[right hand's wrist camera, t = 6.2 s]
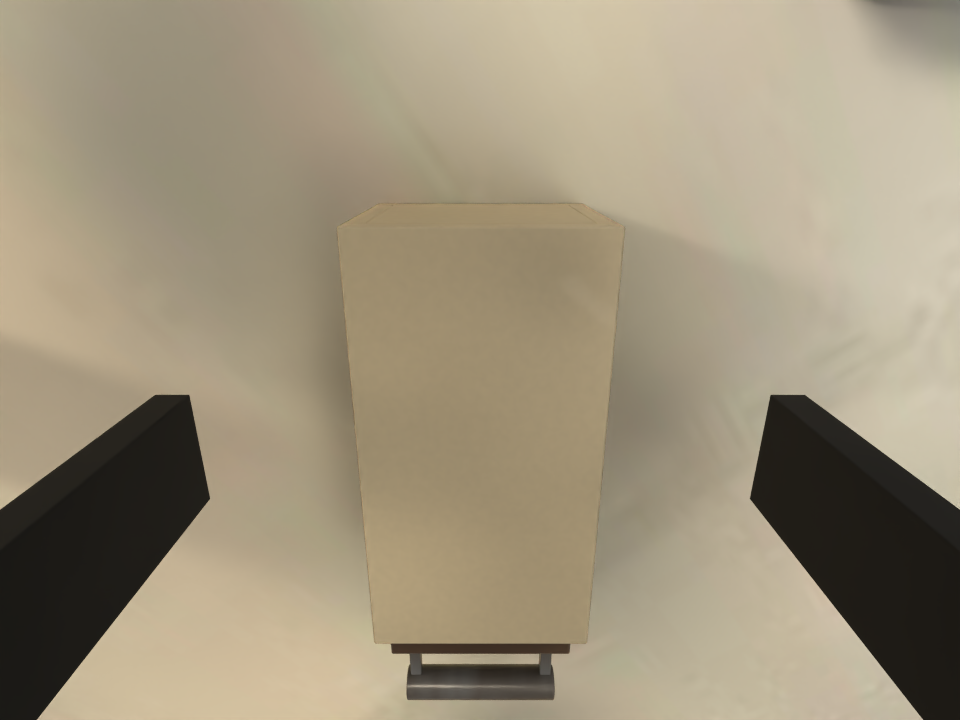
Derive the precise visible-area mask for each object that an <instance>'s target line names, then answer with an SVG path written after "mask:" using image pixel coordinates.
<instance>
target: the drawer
mask: <svg viewBox="0 0 960 720" xmlns="http://www.w3.org/2000/svg"><path fill="white" fill-rule="evenodd" d="M391 649H392V653H393V654H410V665H409V668H408V674H407V699H408V700H554V694H555V686H554V673H553V667H552V665H551V655H552V654H568V653H569V652H570V644H391ZM422 654H539V664H422Z"/></svg>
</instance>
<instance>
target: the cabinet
mask: <svg viewBox="0 0 960 720" xmlns="http://www.w3.org/2000/svg"><path fill="white" fill-rule="evenodd" d="M624 236H625V227H624V226H622V225H620V224H618V223H617V222H615V221H613V220H611V219H609V218H607V217H606V216H604V215H602V214H600V213H598V212H596V211H595V210H593V209H591V208H589V207H587V206H586V205H584V204H377V205H376V206H374V207H372V208H370V209H369V210H367V211H365V212H363V213H361V214H360V215H358V216H356V217H354V218H352V219H350V220H349V221H347V222H345V223H343V224H342V225H340V226H338V227H337V237H338V248H339V259H340V270H341V281H342V292H343V303H344V314H345V325H346V336H347V347H348V358H349V369H350V380H351V391H352V402H353V413H354V424H355V435H356V446H357V457H358V468H359V479H360V490H361V501H362V512H363V523H364V534H365V545H366V556H367V567H368V578H369V589H370V600H371V611H372V622H373V633H374V642H375V643H376V644H586V643H587V637H588V626H589V615H590V605H591V594H592V583H593V572H594V561H595V550H596V540H597V529H598V518H599V507H600V496H601V485H602V474H603V464H604V453H605V442H606V431H607V420H608V409H609V399H610V388H611V377H612V366H613V355H614V344H615V334H616V323H617V312H618V301H619V290H620V279H621V268H622V258H623V247H624Z"/></svg>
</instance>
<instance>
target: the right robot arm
mask: <svg viewBox="0 0 960 720" xmlns="http://www.w3.org/2000/svg"><path fill="white" fill-rule="evenodd" d="M209 499H210V496H209V491H208V486H207V481H206V476H205V471H204V466H203V461H202V456H201V451H200V446H199V441H198V436H197V431H196V426H195V421H194V416H193V411H192V406H191V401H190V396H189V395H155V396H153V397H152V398H151V399H149V400H148V401H146V402H145V403H144V404H142V405H141V406H140V407H138V408H137V409H136V410H134V411H133V412H132V413H130V414H129V415H128V416H126V417H125V418H124V419H122V420H121V421H119V422H118V423H117V424H115V425H114V426H113V427H111V428H110V429H109V430H107V431H106V432H105V433H103V434H102V435H101V436H99V437H98V438H97V439H95V440H94V441H92V442H91V443H90V444H88V445H87V446H86V447H84V448H83V449H82V450H80V451H79V452H78V453H76V454H75V455H74V456H72V457H71V458H69V459H68V460H67V461H65V462H64V463H63V464H61V465H60V466H59V467H57V468H56V469H55V470H53V471H52V472H51V473H49V474H48V475H47V476H45V477H44V478H42V479H41V480H40V481H38V482H37V483H36V484H34V485H33V486H32V487H30V488H29V489H28V490H26V491H25V492H24V493H22V494H21V495H20V496H18V497H17V498H15V499H14V500H13V501H11V502H10V503H9V504H7V505H6V506H5V507H3V508H2V509H1V510H0V720H37V719H38V717H39V716H40V715H41V714H42V712H43V711H44V710H45V709H46V707H47V706H48V705H49V703H50V702H51V701H52V700H53V698H54V697H55V696H56V695H57V693H58V692H59V691H60V689H61V688H62V687H63V686H64V684H65V683H66V682H67V680H68V679H69V678H70V677H71V675H72V674H73V673H74V672H75V670H76V669H77V668H78V666H79V665H80V664H81V663H82V661H83V660H84V659H85V658H86V656H87V655H88V654H89V652H90V651H91V650H92V649H93V647H94V646H95V645H96V644H97V642H98V641H99V640H100V638H101V637H102V636H103V635H104V633H105V632H106V631H107V629H108V628H109V627H110V626H111V624H112V623H113V622H114V621H115V619H116V618H117V617H118V615H119V614H120V613H121V612H122V610H123V609H124V608H125V607H126V605H127V604H128V603H129V601H130V600H131V599H132V598H133V596H134V595H135V594H136V593H137V591H138V590H139V589H140V587H141V586H142V585H143V584H144V582H145V581H146V580H147V578H148V577H149V576H150V575H151V573H152V572H153V571H154V570H155V568H156V567H157V566H158V564H159V563H160V562H161V561H162V559H163V558H164V557H165V556H166V554H167V553H168V552H169V550H170V549H171V548H172V547H173V545H174V544H175V543H176V542H177V540H178V539H179V538H180V536H181V535H182V534H183V533H184V531H185V530H186V529H187V528H188V526H189V525H190V524H191V522H192V521H193V520H194V519H195V517H196V516H197V515H198V513H199V512H200V511H201V510H202V508H203V507H204V506H205V505H206V503H207V502H208V501H209ZM750 499H751V501H752V502H753V503H754V505H755V506H756V507H757V508H758V510H759V511H760V512H761V513H762V515H763V516H764V517H765V519H766V520H767V521H768V522H769V524H770V525H771V526H772V528H773V529H774V530H775V531H776V533H777V534H778V535H779V536H780V538H781V539H782V540H783V542H784V543H785V544H786V545H787V547H788V548H789V549H790V550H791V552H792V553H793V554H794V556H795V557H796V558H797V559H798V561H799V562H800V563H801V564H802V566H803V567H804V568H805V570H806V571H807V572H808V573H809V575H810V576H811V577H812V578H813V580H814V581H815V582H816V584H817V585H818V586H819V587H820V589H821V590H822V591H823V593H824V594H825V595H826V596H827V598H828V599H829V600H830V601H831V603H832V604H833V605H834V607H835V608H836V609H837V610H838V612H839V613H840V614H841V615H842V617H843V618H844V619H845V621H846V622H847V623H848V624H849V626H850V627H851V628H852V629H853V631H854V632H855V633H856V635H857V636H858V637H859V638H860V640H861V641H862V642H863V644H864V645H865V646H866V647H867V649H868V650H869V651H870V652H871V654H872V655H873V656H874V658H875V659H876V660H877V661H878V663H879V664H880V665H881V666H882V668H883V669H884V670H885V672H886V673H887V674H888V675H889V677H890V678H891V679H892V680H893V682H894V683H895V684H896V686H897V687H898V688H899V689H900V691H901V692H902V693H903V695H904V696H905V697H906V698H907V700H908V701H909V702H910V703H911V705H912V706H913V707H914V709H915V710H916V711H917V712H918V714H919V715H920V716H921V717H922V719H923V720H960V510H959V509H958V508H957V507H955V506H954V505H953V504H951V503H950V502H949V501H947V500H946V499H945V498H943V497H942V496H940V495H939V494H938V493H936V492H935V491H934V490H932V489H931V488H930V487H928V486H927V485H926V484H924V483H923V482H922V481H920V480H919V479H918V478H916V477H915V476H913V475H912V474H911V473H909V472H908V471H907V470H905V469H904V468H903V467H901V466H900V465H899V464H897V463H896V462H895V461H893V460H892V459H891V458H889V457H888V456H886V455H885V454H884V453H882V452H881V451H880V450H878V449H877V448H876V447H874V446H873V445H872V444H870V443H869V442H868V441H866V440H865V439H863V438H862V437H861V436H859V435H858V434H857V433H855V432H854V431H853V430H851V429H850V428H849V427H847V426H846V425H845V424H843V423H842V422H841V421H839V420H838V419H836V418H835V417H834V416H832V415H831V414H830V413H828V412H827V411H826V410H824V409H823V408H822V407H820V406H819V405H818V404H816V403H815V402H814V401H812V400H811V399H809V398H808V397H807V396H805V395H771V396H770V401H769V406H768V411H767V416H766V421H765V426H764V431H763V436H762V441H761V446H760V451H759V456H758V461H757V466H756V471H755V476H754V481H753V486H752V491H751V496H750Z"/></svg>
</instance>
